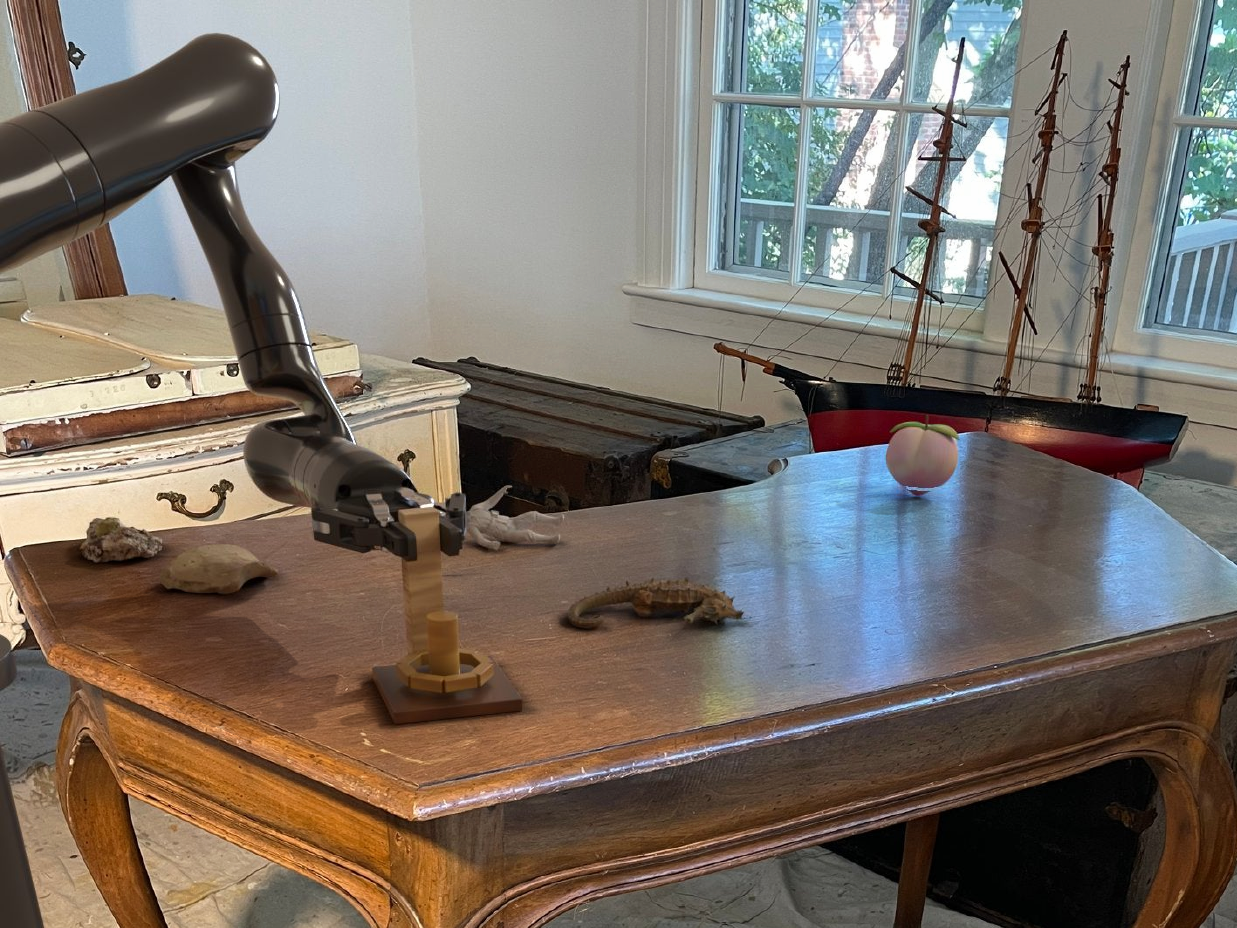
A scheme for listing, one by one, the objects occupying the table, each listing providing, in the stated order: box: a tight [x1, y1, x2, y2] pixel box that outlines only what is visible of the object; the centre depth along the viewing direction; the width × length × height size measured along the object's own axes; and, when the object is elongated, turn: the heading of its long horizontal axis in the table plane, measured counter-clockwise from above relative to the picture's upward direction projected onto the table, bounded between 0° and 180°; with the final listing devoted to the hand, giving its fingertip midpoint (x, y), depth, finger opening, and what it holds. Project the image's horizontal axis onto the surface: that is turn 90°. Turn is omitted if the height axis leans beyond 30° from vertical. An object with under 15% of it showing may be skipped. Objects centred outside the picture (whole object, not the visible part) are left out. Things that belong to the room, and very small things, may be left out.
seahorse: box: [567, 576, 745, 629], centre depth 121 cm, size 9×16×3 cm, turn 86°
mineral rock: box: [78, 516, 163, 563], centre depth 134 cm, size 11×4×8 cm
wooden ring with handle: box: [395, 507, 494, 693], centre depth 101 cm, size 9×7×12 cm
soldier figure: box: [466, 485, 565, 551], centre depth 142 cm, size 8×5×12 cm
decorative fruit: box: [885, 414, 961, 497], centre depth 165 cm, size 9×8×10 cm
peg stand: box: [371, 610, 523, 725], centre depth 102 cm, size 10×10×6 cm
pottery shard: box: [158, 543, 279, 595], centre depth 126 cm, size 11×4×10 cm
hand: (433, 545), depth 99 cm, fingers closed on wooden ring with handle, 3 cm apart
